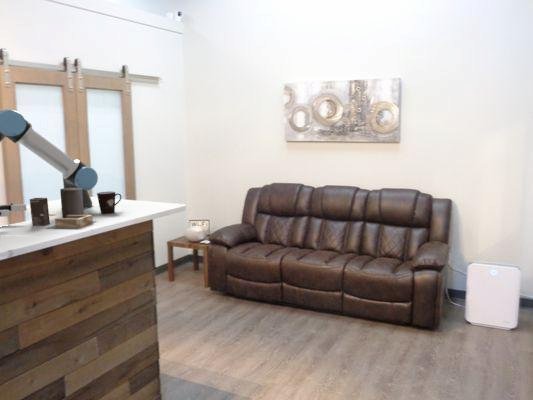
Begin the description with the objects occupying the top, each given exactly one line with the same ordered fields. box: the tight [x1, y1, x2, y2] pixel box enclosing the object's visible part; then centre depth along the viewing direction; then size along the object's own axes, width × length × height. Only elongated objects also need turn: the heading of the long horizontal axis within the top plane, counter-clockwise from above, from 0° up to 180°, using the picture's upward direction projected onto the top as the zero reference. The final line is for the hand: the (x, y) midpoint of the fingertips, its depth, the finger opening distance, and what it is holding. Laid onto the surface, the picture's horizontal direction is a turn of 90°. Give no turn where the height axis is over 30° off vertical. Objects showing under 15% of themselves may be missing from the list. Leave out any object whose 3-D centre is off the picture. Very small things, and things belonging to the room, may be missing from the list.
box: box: [29, 197, 51, 227], centre depth 218 cm, size 6×4×12 cm
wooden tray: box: [54, 214, 94, 229], centre depth 215 cm, size 10×12×4 cm
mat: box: [44, 220, 98, 230], centre depth 216 cm, size 16×15×1 cm
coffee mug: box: [96, 190, 122, 215], centre depth 246 cm, size 12×9×10 cm
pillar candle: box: [59, 186, 85, 218], centre depth 235 cm, size 10×10×15 cm
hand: (17, 210), depth 218 cm, fingers open, 13 cm apart
